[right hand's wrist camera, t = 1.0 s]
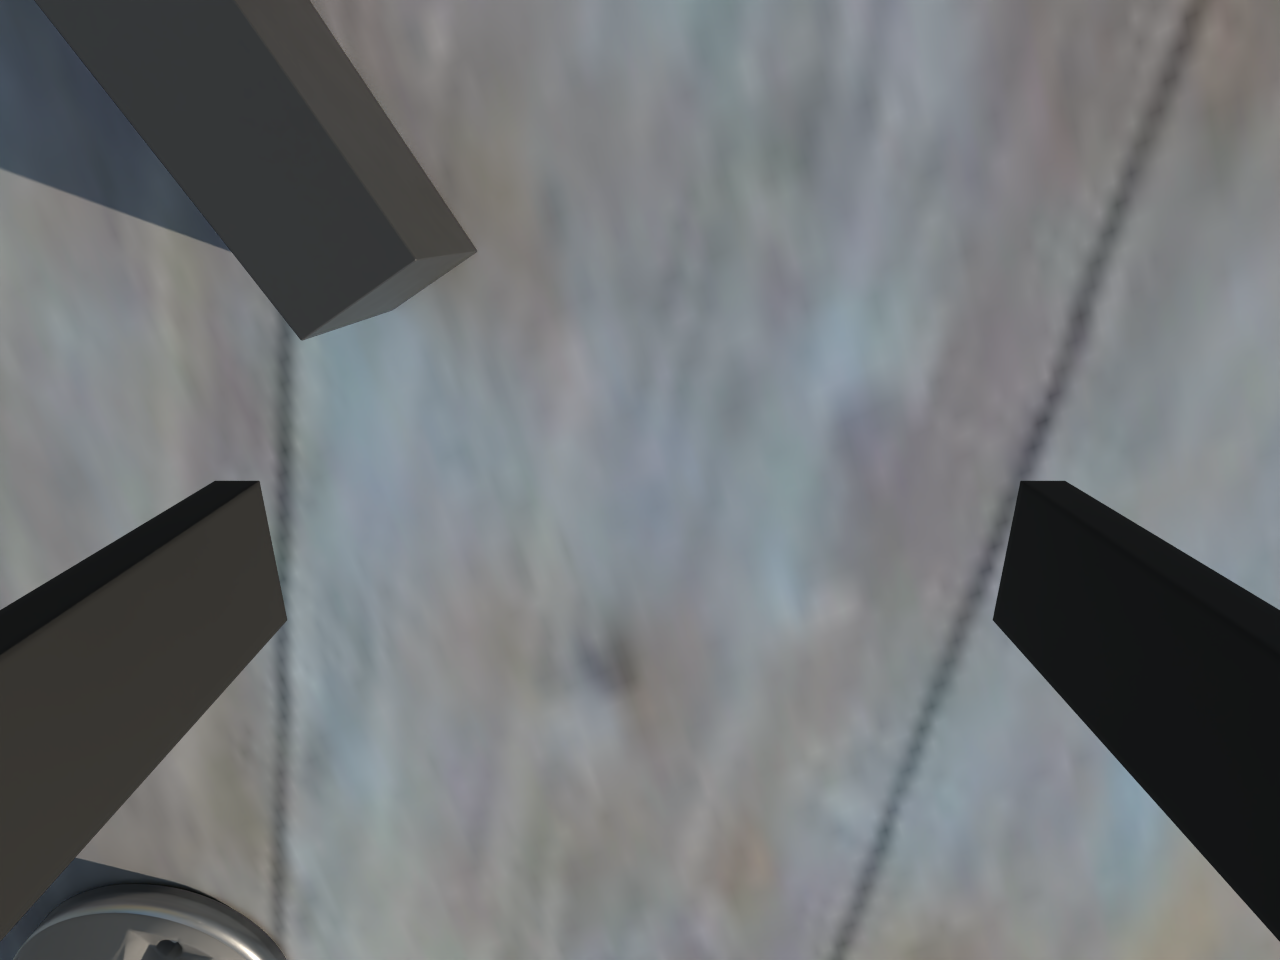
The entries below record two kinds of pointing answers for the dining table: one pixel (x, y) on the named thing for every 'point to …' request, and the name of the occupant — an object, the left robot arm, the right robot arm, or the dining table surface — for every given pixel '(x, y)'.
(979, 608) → the dining table surface
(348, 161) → the bar
